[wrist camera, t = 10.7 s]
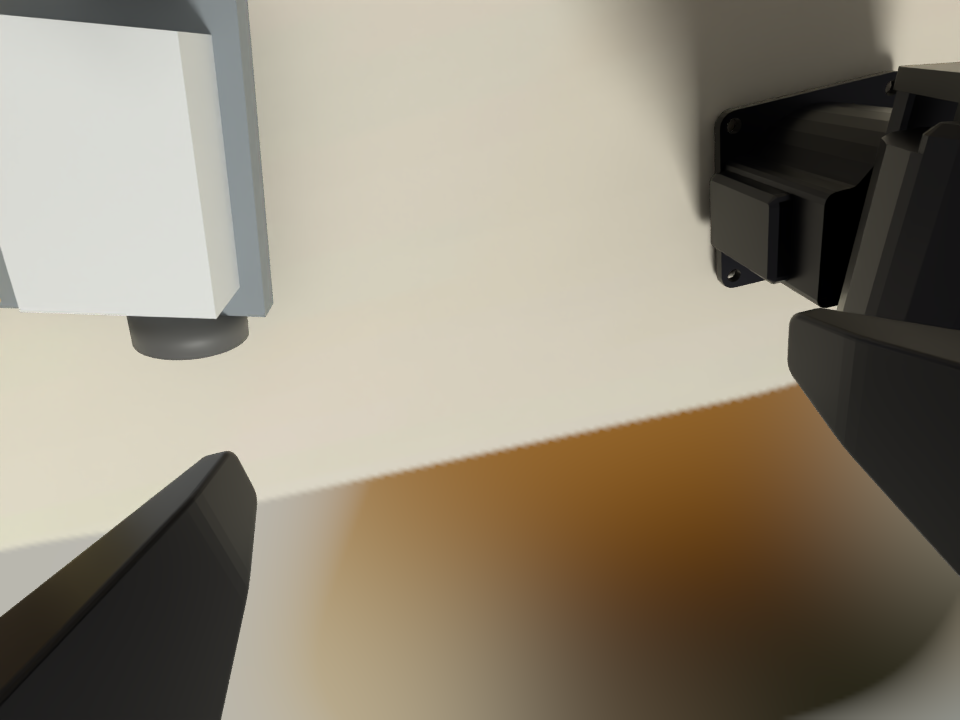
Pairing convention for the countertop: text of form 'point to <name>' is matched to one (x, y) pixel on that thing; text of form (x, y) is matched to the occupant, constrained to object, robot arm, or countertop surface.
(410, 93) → the countertop surface
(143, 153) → the toy chassis
